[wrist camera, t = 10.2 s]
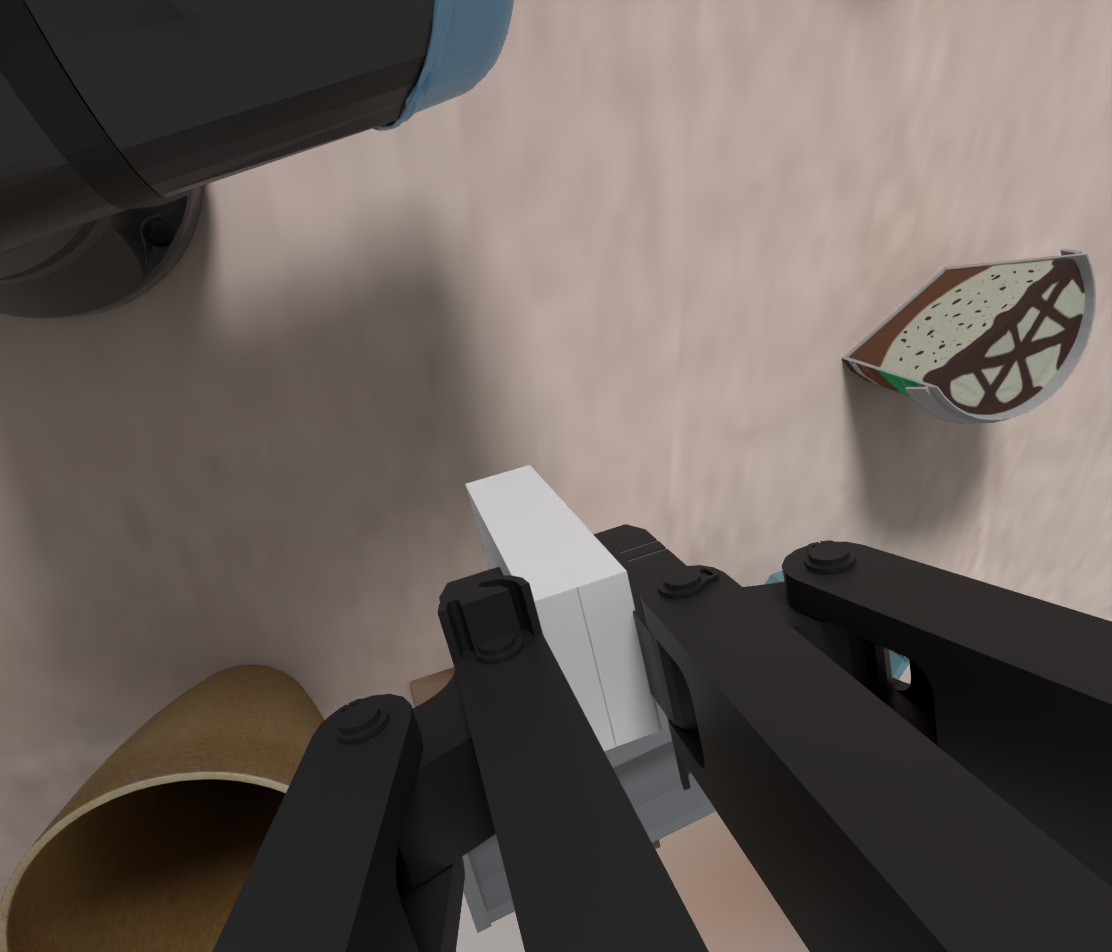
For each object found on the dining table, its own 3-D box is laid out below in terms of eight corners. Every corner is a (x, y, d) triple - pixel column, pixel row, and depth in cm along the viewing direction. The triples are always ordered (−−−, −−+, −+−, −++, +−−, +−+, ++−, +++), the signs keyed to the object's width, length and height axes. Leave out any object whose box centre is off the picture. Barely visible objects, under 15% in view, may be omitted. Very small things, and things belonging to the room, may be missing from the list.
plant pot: (78, 648, 44) (-68, 842, 29) (339, 583, 47) (329, 728, 32) (160, 855, 48) (70, 1117, 33) (395, 784, 51) (409, 995, 36)
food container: (868, 439, 53) (977, 473, 44) (825, 372, 51) (929, 393, 42) (998, 324, 54) (1134, 333, 44) (960, 253, 51) (1094, 247, 42)
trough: (456, 867, 46) (477, 932, 41) (400, 704, 43) (417, 755, 38) (761, 723, 52) (810, 766, 47) (734, 569, 48) (785, 599, 44)
